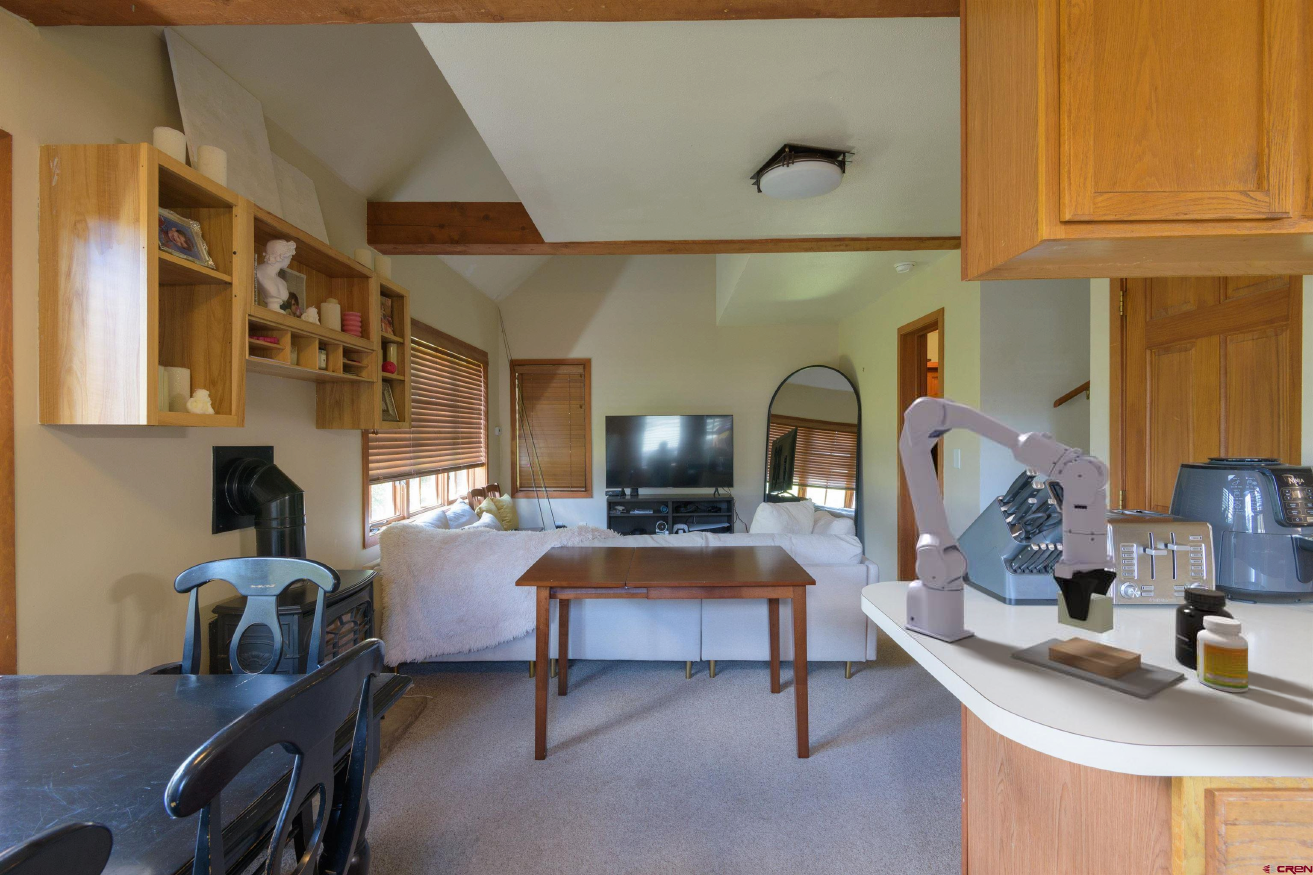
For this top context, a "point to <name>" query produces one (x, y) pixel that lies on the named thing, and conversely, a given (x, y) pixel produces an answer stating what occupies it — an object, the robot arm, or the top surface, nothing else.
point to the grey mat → (1133, 683)
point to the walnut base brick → (1095, 657)
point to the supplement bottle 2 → (1222, 655)
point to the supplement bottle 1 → (1195, 621)
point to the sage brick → (1090, 614)
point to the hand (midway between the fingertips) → (1084, 616)
